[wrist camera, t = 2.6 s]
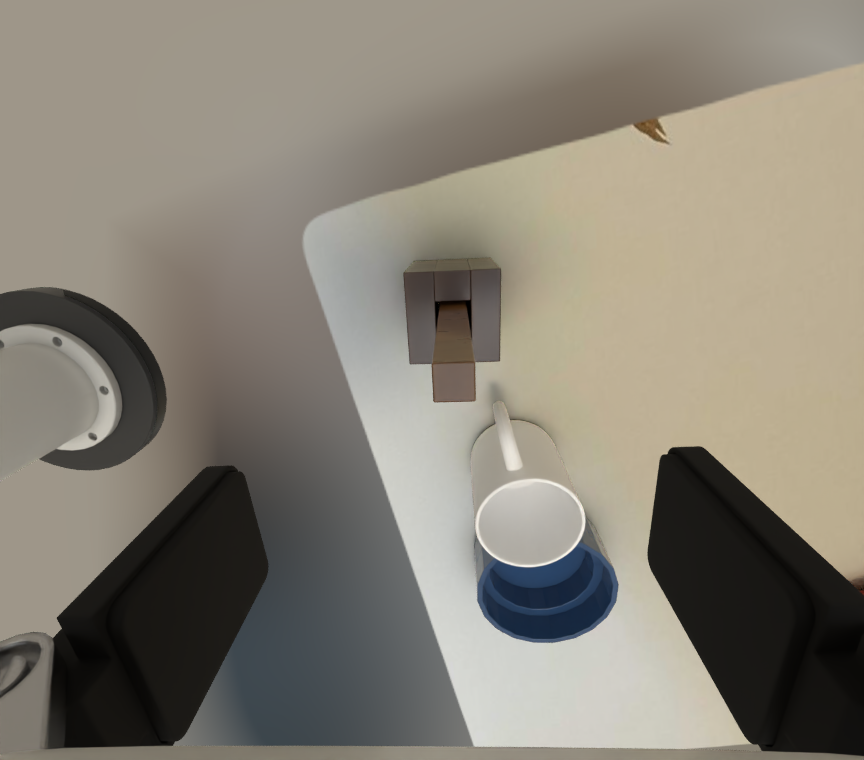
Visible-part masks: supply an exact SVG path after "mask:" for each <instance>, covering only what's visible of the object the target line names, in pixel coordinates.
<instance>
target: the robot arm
mask: <svg viewBox="0 0 864 760" xmlns="http://www.w3.org/2000/svg"><path fill="white" fill-rule="evenodd" d="M121 413H122V395H121V392H120V388H119V385H118V382H117V380H116V378H115V376H114V374H113V372H112V370H111V369H110V367H109V366H108V365H107V363H106V362H105V360H104V359H103V358H102V357H101V356H100V355H99V354H98V353H97V352H96V351H95V350H94V349H93V348H92V347H91V346H89V345H88V344H87V343H86V342H84V341H83V340H81V339H80V338H78V337H76V336H75V335H73V334H71V333H69V332H67V331H64V330H62V329H60V328H57V327H53V326H49V325H45V324H24V325H18V326H14V327H11V328H7V329H4V330H2V331H0V481H2V480H4V479H5V478H7V477H9V476H10V475H12V474H14V473H16V472H17V471H19V470H21V469H22V468H24V467H26V466H28V465H29V464H31V463H33V462H34V461H36V460H38V459H40V458H41V457H43V456H45V455H46V454H48V453H50V452H51V451H53V450H55V449H59V450H81V449H86V448H89V447H92V446H94V445H96V444H97V443H99V442H101V441H102V440H104V439H105V438H107V437H108V436H109V435H110V434H112V432H113V431H114V430H115V428H116V427H117V425H118V423H119V421H120V418H121ZM648 562H649V566H650V568H651V571H652V573H653V574H654V576H655V578H656V580H657V581H658V583H659V585H660V587H661V589H662V590H663V592H664V594H665V596H666V598H667V599H668V601H669V603H670V605H671V606H672V608H673V610H674V612H675V614H676V615H677V617H678V619H679V621H680V622H681V624H682V626H683V628H684V630H685V631H686V633H687V635H688V637H689V639H690V640H691V642H692V644H693V646H694V647H695V649H696V651H697V653H698V655H699V656H700V658H701V660H702V662H703V663H704V665H705V667H706V669H707V671H708V672H709V674H710V676H711V678H712V680H713V681H714V683H715V685H716V687H717V688H718V690H719V692H720V694H721V696H722V697H723V699H724V701H725V703H726V704H727V706H728V708H729V710H730V712H731V713H732V715H733V717H734V719H735V721H736V722H737V724H738V726H739V728H740V729H741V731H742V733H743V734H744V736H745V737H746V739H747V740H748V741H749V742H750V743H752V744H758V745H759V746H760V748H761V750H762V751H740V750H739V751H737V750H707V749H631V748H550V747H428V746H427V747H425V746H423V747H422V746H173V744H174V742H175V741H179V740H180V739H182V737H183V736H184V735H185V734H186V732H187V730H188V729H189V727H190V725H191V723H192V721H193V719H194V717H195V715H196V713H197V711H198V709H199V707H200V705H201V703H202V702H203V699H204V698H205V696H206V694H207V692H208V690H209V688H210V686H211V684H212V682H213V680H214V678H215V676H216V674H217V673H218V671H219V669H220V667H221V665H222V662H223V661H224V659H225V657H226V655H227V653H228V651H229V649H230V647H231V645H232V643H233V641H234V639H235V638H236V636H237V634H238V632H239V630H240V628H241V626H242V624H243V622H244V620H245V618H246V616H247V614H248V612H249V611H250V609H251V607H252V604H253V603H254V601H255V599H256V597H257V595H258V593H259V591H260V589H261V587H262V585H263V583H264V581H265V579H266V577H267V573H268V560H267V556H266V553H265V549H264V545H263V541H262V538H261V534H260V530H259V527H258V523H257V519H256V516H255V512H254V508H253V504H252V501H251V497H250V493H249V490H248V486H247V482H246V479H245V476H244V474H243V473H242V472H238V470H237V469H236V468H235V467H234V466H212V467H211V466H210V467H206V468H205V469H203V470H202V471H201V472H200V473H199V474H198V475H197V476H196V477H195V478H194V479H193V480H192V481H191V482H190V483H189V484H188V485H187V486H186V487H185V488H184V489H183V491H182V492H181V493H179V495H177V496H176V497H175V499H174V500H173V501H172V502H171V503H170V504H169V505H168V506H167V507H166V508H165V509H164V510H163V511H162V512H161V513H160V514H159V515H158V516H157V517H156V518H155V519H154V520H153V521H152V522H151V523H150V524H149V525H148V526H147V527H146V528H145V529H144V530H143V531H142V532H141V533H140V534H139V535H138V536H137V537H136V538H135V539H134V540H133V541H132V542H131V543H130V544H129V545H128V546H127V547H126V548H125V549H124V550H123V551H122V552H121V553H120V554H119V555H118V556H117V557H116V558H115V559H114V560H113V562H111V563H110V564H109V565H108V566H107V567H106V568H105V570H103V572H101V573H100V574H99V575H98V576H97V577H96V578H95V580H94V581H93V582H92V583H91V584H90V585H89V586H88V587H87V588H86V589H85V590H84V591H83V592H82V593H81V594H80V595H79V596H78V597H77V598H76V599H75V600H74V601H73V602H72V603H71V604H70V605H69V606H68V607H67V608H66V609H65V610H64V611H63V612H62V613H61V614H60V615H59V616H58V617H57V620H58V622H59V623H60V625H61V627H62V629H61V630H60V631H59V632H58V633H57V634H56V636H55V637H54V638H52V637H50V636H49V635H47V634H46V633H41V632H30V633H25V634H20V635H17V636H14V637H11V638H9V639H6V640H3V641H1V642H0V760H864V595H863V594H862V593H861V592H860V591H859V590H858V589H857V588H855V587H854V586H853V585H852V584H851V583H850V582H849V581H848V580H847V579H846V578H845V577H844V576H842V575H841V574H840V573H839V572H838V571H837V570H836V569H835V568H834V567H833V566H832V565H830V564H829V563H828V562H827V561H826V560H825V559H824V558H823V557H822V556H821V555H820V554H819V553H817V552H816V551H815V550H814V549H813V548H812V547H811V546H810V545H809V544H808V543H807V542H806V541H804V540H803V539H802V538H801V537H800V536H799V535H798V534H797V533H796V532H795V531H794V530H793V529H791V528H790V527H789V526H788V525H787V524H786V523H785V522H784V521H783V520H782V519H781V518H779V517H778V516H777V515H776V514H775V513H774V512H773V511H772V510H771V509H770V508H769V507H768V506H766V505H765V504H764V503H763V502H762V501H761V500H760V499H759V498H758V497H757V496H756V495H755V494H753V493H752V492H751V491H750V490H749V489H748V488H747V487H746V486H745V485H744V484H743V483H741V482H740V481H739V480H738V479H737V478H736V477H735V476H734V475H733V474H732V473H731V472H730V471H728V470H727V469H726V468H725V467H724V466H723V465H722V464H721V463H720V462H719V461H718V460H717V459H715V458H714V457H713V456H712V455H711V454H710V453H709V452H708V451H707V450H706V449H704V448H703V447H699V446H697V447H673V448H671V449H670V450H669V452H668V454H666V455H662V456H661V458H660V462H659V470H658V477H657V485H656V492H655V500H654V507H653V515H652V522H651V530H650V537H649V545H648Z"/></svg>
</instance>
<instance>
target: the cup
mask: <svg viewBox="0 0 864 760" xmlns="http://www.w3.org/2000/svg"><path fill="white" fill-rule="evenodd" d="M493 413H494V418H495V422H496V424H495V425H493V426H491V427H489V428H488V429H486V430H485V431H484V432H483V433H482V434H481V435H480V436H479V437H478V439H477V440H476V442H475V444H474V446H473V449H472V453H471V478H472V492H473V505H474V519H475V530H476V535H477V537H478V540H479V542H480V544H481V545H482V546H483V548H484V549H485V550H486V551H487V552H488V553H489V554H490V555H491V556H493V557H494V558H496V559H497V560H499V561H501V562H504V563H506V564H509V565H513V566H518V567H538V566H543V565H547V564H550V563H553V562H555V561H557V560H559V559H561V558H563V557H564V556H566V555H567V554H568V553H570V552H571V551H572V550H573V549H574V548H575V547H576V545H577V544H578V543H579V541H580V539H581V537H582V535H583V532H584V529H585V522H586V521H585V512H584V509H583V506H582V504H581V502H580V499H579V497H578V495H577V493H576V491H575V488H574V486H573V484H572V482H571V479H570V477H569V475H568V473H567V471H566V468H565V466H564V464H563V462H562V459H561V457H560V455H559V453H558V451H557V448H556V446H555V444H554V443H553V441H552V439H551V438H550V436H549V435H548V434H547V433H546V432H545V431H544V430H543V429H541V428H540V427H538V426H537V425H534V424H532V423H529V422H526V421H521V420H510V419H509V416H508V412H507V409H506V406H505V404H504V403H503V402H501V401H497V402H495V403H494V404H493Z"/></svg>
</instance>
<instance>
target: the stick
mask: <svg viewBox="0 0 864 760" xmlns="http://www.w3.org/2000/svg"><path fill="white" fill-rule="evenodd" d="M432 382H433V401H434V402H468V401H475V400H476V385H475V358H474V352H473V345H472V339H471V333H470V326H469V320H468V313H467V307H466V301H465V300H464V301H440V308H439V315H438V322H437V329H436V337H435V344H434V351H433V358H432Z"/></svg>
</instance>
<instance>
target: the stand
mask: <svg viewBox="0 0 864 760" xmlns="http://www.w3.org/2000/svg"><path fill="white" fill-rule="evenodd" d="M403 274H404V288H405V303H406V317H407V332H408V346H409V361H410V364H432V358H433V351H434V344H435V337H436V329H437V322H438V315H439V301H464V300H467V313H468V320H469V326H470V333H471V339H472V345H473V352H474V358H475V362H497V361H500V318H501V269H500V267H499V266H498V265H497V264H496V263H495V262H494V261H493V260H492V259H491V258H469V259H446V260H423V261H413V263H412V264H411V265H410V266H409V267H408V268H407V270H406V271H405V272H404V273H403Z"/></svg>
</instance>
